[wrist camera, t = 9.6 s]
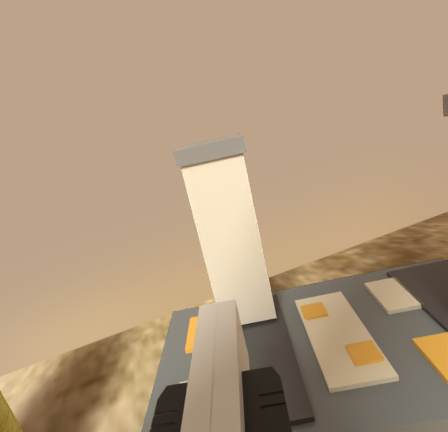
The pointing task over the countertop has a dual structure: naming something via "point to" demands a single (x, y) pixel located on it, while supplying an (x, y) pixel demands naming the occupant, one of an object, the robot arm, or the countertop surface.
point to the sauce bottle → (7, 418)
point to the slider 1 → (227, 224)
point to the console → (345, 351)
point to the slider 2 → (445, 105)
